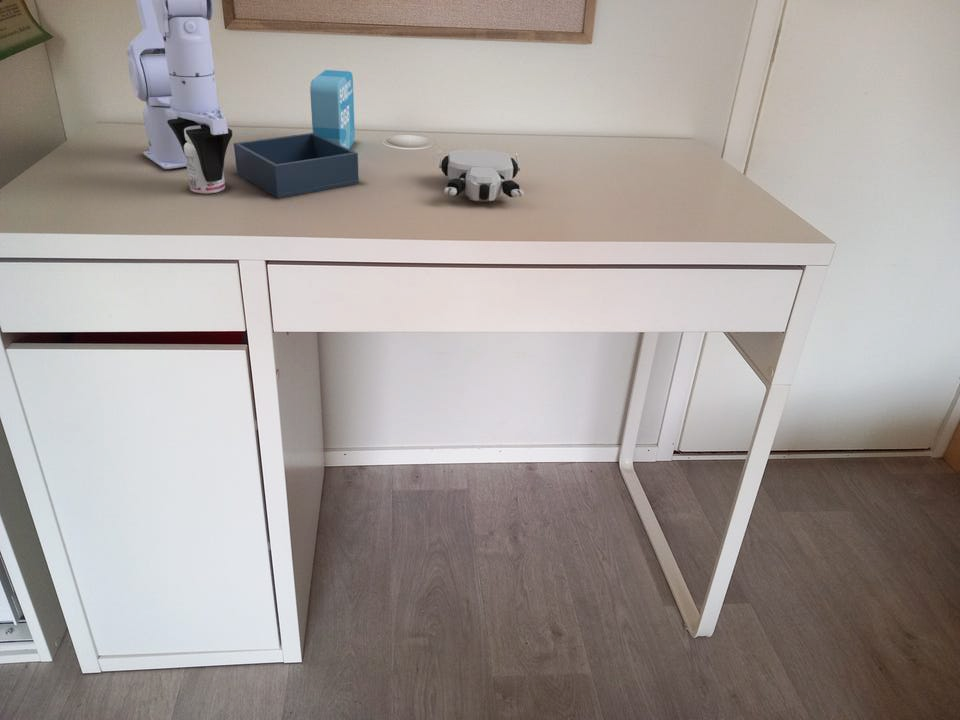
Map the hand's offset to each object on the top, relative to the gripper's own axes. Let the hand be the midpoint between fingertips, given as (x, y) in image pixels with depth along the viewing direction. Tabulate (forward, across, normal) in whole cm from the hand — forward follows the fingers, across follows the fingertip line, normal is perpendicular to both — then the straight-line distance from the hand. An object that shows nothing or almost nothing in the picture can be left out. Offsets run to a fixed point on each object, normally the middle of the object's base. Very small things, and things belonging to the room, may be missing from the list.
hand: (206, 175), depth 103 cm
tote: (+2, +2, +13) cm, 13 cm away
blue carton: (+2, -9, +26) cm, 28 cm away
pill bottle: (+2, 0, 0) cm, 2 cm away
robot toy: (+2, +21, +33) cm, 39 cm away
